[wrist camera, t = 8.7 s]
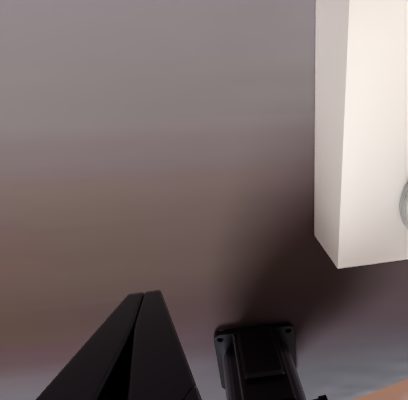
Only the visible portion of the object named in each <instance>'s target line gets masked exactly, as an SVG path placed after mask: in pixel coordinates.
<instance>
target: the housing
mask: <svg viewBox="0 0 408 400" xmlns="http://www.w3.org/2000/svg"><path fill="white" fill-rule="evenodd" d="M407 181H408V0H316V49H315V192H314V235H315V237H316V238H317V240H318V241H319V243H320V244H321V245H322V247H323V248H324V250H325V251H326V253H327V254H328V256H329V257H330V258H331V260H332V261H333V263H334V264H335V266H336V267H337V269H340V268H347V267H355V266H362V265H369V264H376V263H384V262H391V261H398V260H406V259H408V229H407V228H406V226H405V225H404V224H403V221H402V219H401V216H400V209H399V206H400V198H401V194H402V191H403V189H404V187H405V185H406V183H407Z"/></svg>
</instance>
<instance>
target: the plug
mask: <svg viewBox="0 0 408 400" xmlns="http://www.w3.org/2000/svg"><path fill="white" fill-rule="evenodd" d="M399 209H400V216H401V219H402V221H403V224H404V225H405V226H406V228H407V229H408V181H407V183H406V185H405V187H404V189H403V191H402V194H401V198H400V206H399Z"/></svg>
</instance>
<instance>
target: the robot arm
mask: <svg viewBox="0 0 408 400" xmlns="http://www.w3.org/2000/svg"><path fill="white" fill-rule="evenodd" d="M288 328H289V329H288ZM214 343H215V349H216V355H217V361H218V367H219V373H220V378H221V384H222V388H224V389H226V397H227V400H306V397H305V394H304V391H303V388H302V385H301V382H300V379H299V376H298V374H297V371H296V368H295V331H294V327H293V324H292V323H289V322H286V323H278V324H271V325H263V326H256V327H248V328H241V329H234V330H226V331H219V332H216V333H215V334H214ZM36 400H202V399H201V396H200V394H199V391H198V389H197V387H196V384H195V381H194V378H193V376H192V373H191V370H190V368H189V365H188V362H187V359H186V357H185V354H184V351H183V349H182V346H181V343H180V341H179V338H178V335H177V333H176V330H175V327H174V325H173V322H172V319H171V317H170V314H169V311H168V309H167V306H166V303H165V301H164V298H163V295H162V293H161V291H160V290H155V291H148V292H146V293H145V294H144V293H143V292H141V293H134V294H129V295H128V296H127V297H126V298H125V299H124V300H123V301H122V302H121V303H120V305H119V306H118V307H117V308H116V309H115V310H114V311H113V313H112V314H111V315H110V316H109V317H108V318H107V319H106V321H105V322H104V323H103V324H102V325H101V326H100V327H99V328H98V330H97V331H96V332H95V333H94V334H93V335H92V336H91V338H90V339H89V340H88V341H87V342H86V343H85V344H84V345H83V347H82V348H81V349H80V350H79V351H78V352H77V353H76V355H75V356H74V357H73V358H72V359H71V360H70V361H69V363H68V364H67V365H66V366H65V367H64V368H63V369H62V370H61V372H60V373H59V374H58V375H57V376H56V377H55V378H54V380H53V381H52V382H51V383H50V384H49V385H48V386H47V387H46V389H45V390H44V391H43V392H42V393H41V394H40V395H39V397H38V398H37V399H36ZM314 400H328V399H327V397H326V395H322V396H319V397H318V398H317V399H314Z"/></svg>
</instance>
